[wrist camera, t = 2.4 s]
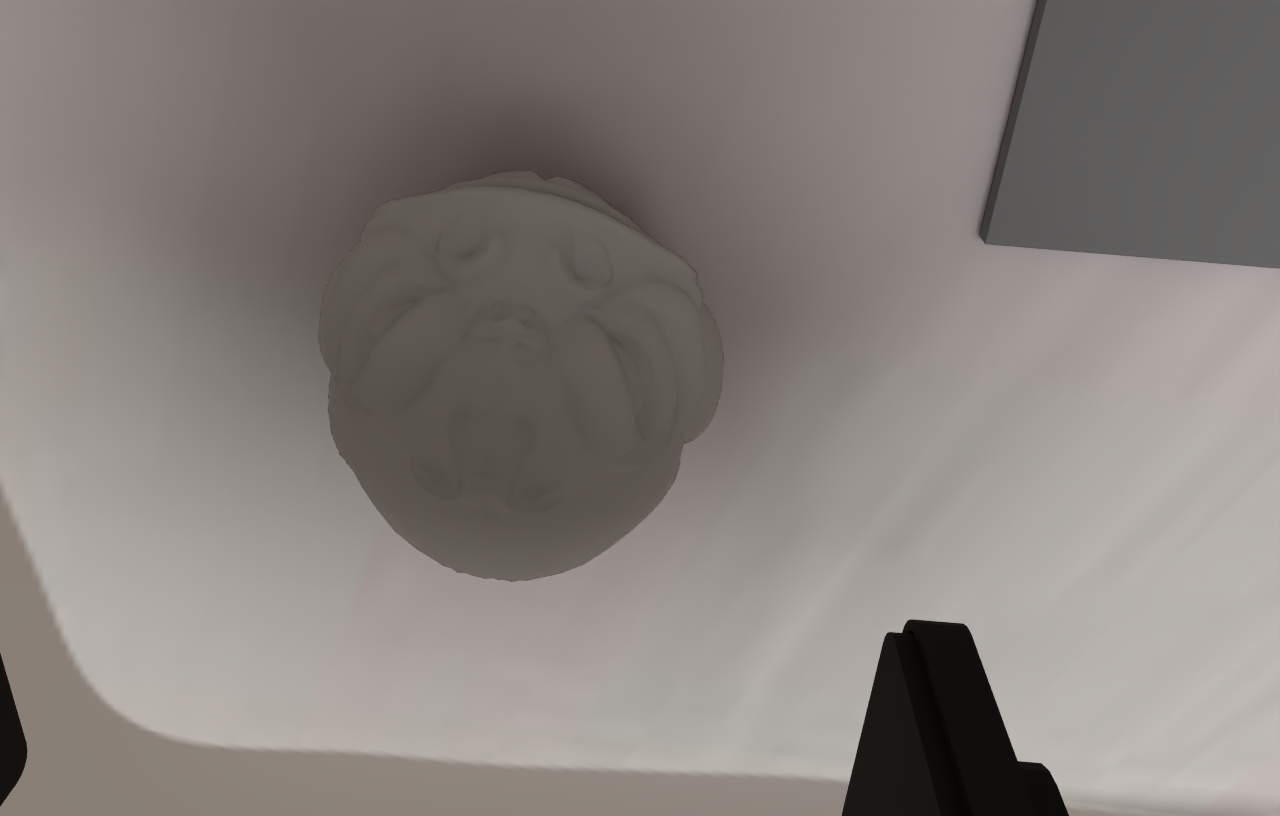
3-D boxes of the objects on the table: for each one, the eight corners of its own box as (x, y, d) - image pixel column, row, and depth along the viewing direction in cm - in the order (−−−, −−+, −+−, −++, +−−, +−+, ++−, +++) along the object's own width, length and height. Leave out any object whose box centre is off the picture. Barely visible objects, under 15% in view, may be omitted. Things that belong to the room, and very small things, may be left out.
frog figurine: (758, 122, 17) (797, 289, 11) (672, 466, 21) (667, 736, 15) (394, 48, 17) (232, 179, 11) (369, 412, 20) (236, 664, 14)
